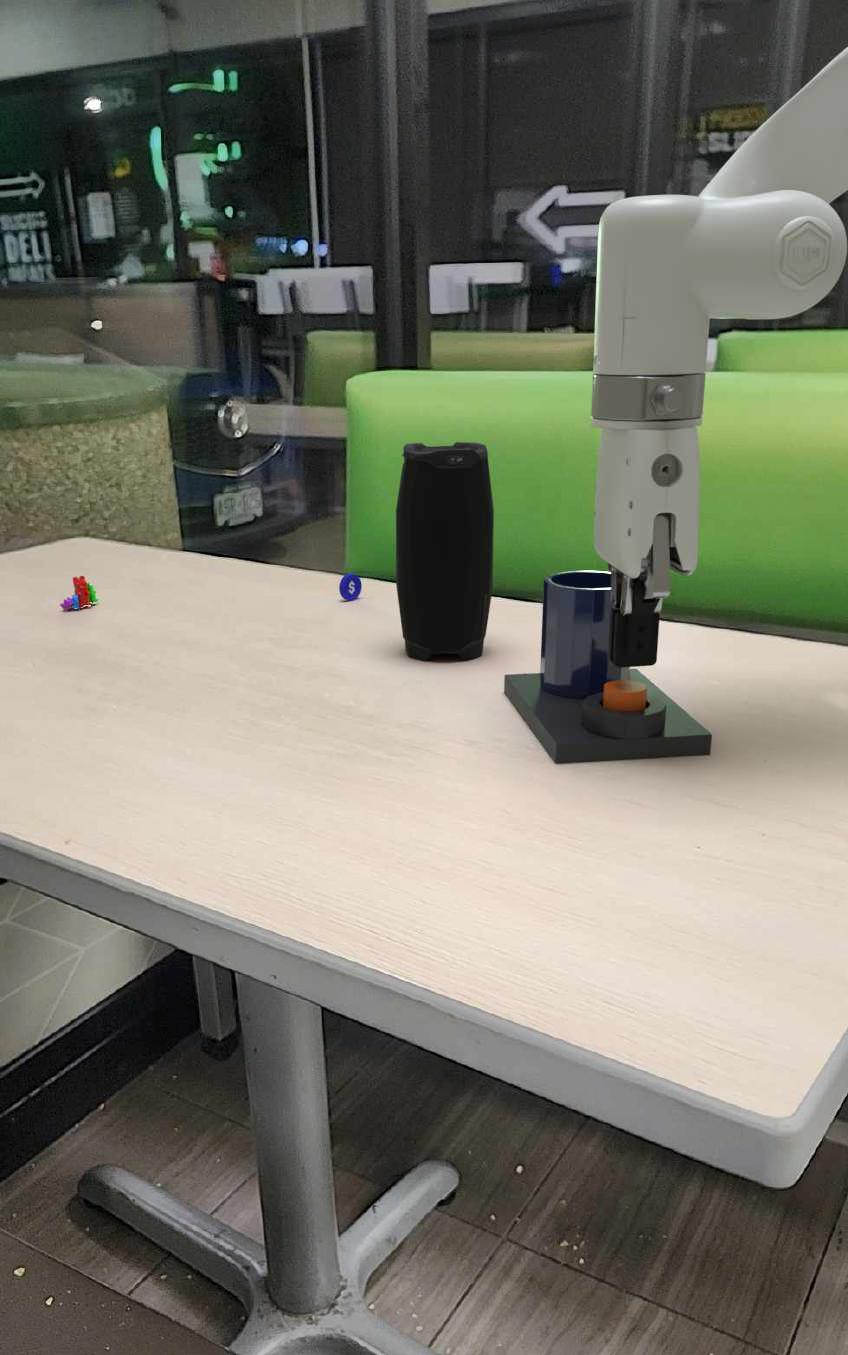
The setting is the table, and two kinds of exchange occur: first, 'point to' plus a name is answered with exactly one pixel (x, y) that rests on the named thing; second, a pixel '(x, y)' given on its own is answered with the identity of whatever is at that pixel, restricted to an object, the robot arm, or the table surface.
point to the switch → (625, 695)
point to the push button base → (606, 724)
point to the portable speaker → (444, 549)
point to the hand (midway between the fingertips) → (632, 663)
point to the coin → (350, 586)
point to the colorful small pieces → (80, 594)
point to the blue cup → (577, 634)
